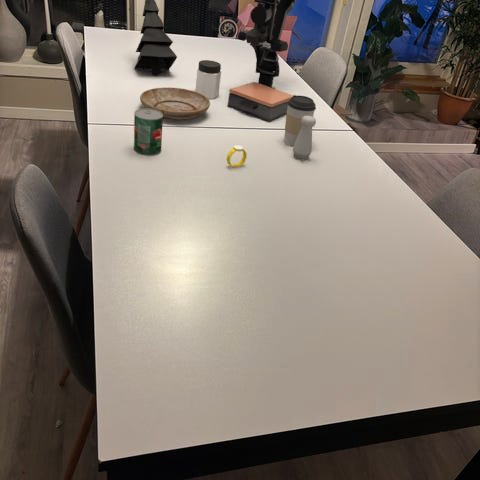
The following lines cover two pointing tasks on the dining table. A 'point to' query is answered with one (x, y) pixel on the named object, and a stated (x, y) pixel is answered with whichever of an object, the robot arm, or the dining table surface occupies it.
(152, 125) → the canned tomato
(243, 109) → the dark grey flat box
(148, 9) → the decorative tree
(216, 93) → the jar
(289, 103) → the coffee cup
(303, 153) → the salt shaker
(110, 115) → the dining table surface
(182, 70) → the dining table surface
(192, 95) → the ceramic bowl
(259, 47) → the robot arm
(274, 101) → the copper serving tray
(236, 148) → the gold ring
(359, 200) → the dining table surface
